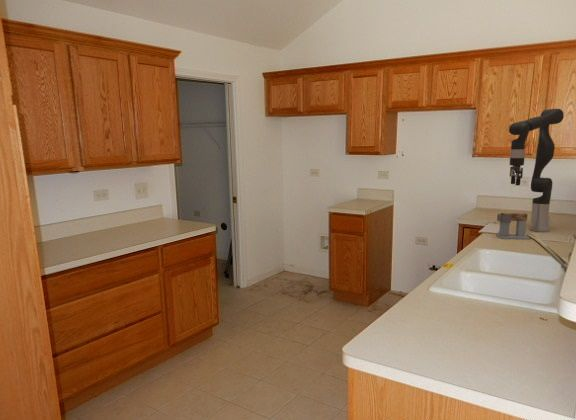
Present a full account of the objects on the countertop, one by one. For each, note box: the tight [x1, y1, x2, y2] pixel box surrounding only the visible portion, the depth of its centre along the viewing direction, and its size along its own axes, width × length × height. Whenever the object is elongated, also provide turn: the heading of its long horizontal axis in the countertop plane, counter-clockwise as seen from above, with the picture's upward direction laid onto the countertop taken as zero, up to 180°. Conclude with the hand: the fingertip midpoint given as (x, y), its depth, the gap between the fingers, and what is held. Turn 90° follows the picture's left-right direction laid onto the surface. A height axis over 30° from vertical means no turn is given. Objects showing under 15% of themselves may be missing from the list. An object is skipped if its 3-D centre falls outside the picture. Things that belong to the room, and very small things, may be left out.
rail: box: [500, 212, 528, 222], centre depth 237 cm, size 13×4×4 cm, turn 81°
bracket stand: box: [495, 213, 530, 240], centre depth 238 cm, size 15×8×13 cm, turn 79°
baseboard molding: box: [478, 221, 500, 235], centre depth 264 cm, size 31×3×12 cm
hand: (515, 184), depth 244 cm, fingers open, 8 cm apart
